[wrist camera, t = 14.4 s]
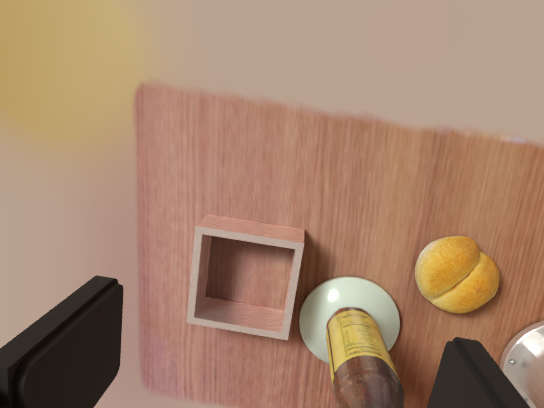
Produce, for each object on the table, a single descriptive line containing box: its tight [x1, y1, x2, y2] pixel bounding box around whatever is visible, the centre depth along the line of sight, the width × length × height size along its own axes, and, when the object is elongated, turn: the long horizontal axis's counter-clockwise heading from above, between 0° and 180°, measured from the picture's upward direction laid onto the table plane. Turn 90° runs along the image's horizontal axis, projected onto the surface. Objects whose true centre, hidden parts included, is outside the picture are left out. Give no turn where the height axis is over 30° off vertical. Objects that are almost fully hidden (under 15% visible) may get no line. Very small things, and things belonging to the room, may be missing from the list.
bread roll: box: [415, 236, 500, 314], centre depth 41 cm, size 8×9×4 cm
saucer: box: [299, 276, 400, 363], centre depth 45 cm, size 12×12×1 cm
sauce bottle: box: [326, 307, 404, 408], centre depth 35 cm, size 7×6×20 cm
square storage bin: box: [186, 214, 304, 340], centre depth 42 cm, size 12×12×5 cm
